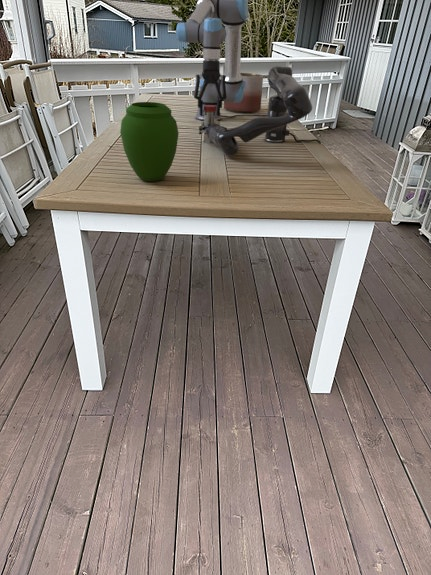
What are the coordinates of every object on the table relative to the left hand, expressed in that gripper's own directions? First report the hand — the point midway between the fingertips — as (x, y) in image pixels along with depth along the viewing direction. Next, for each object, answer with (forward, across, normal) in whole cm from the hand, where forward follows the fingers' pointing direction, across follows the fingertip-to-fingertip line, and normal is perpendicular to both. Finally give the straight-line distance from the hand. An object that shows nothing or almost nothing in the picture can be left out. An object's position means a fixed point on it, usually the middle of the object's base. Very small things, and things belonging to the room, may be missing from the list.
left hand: (209, 115), depth 192 cm
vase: (+12, +35, +54) cm, 66 cm away
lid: (-4, 0, 0) cm, 4 cm away
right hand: (+6, 0, -3) cm, 6 cm away
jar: (+12, 0, 0) cm, 12 cm away
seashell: (+12, -6, -20) cm, 25 cm away
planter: (+12, -46, -89) cm, 101 cm away
